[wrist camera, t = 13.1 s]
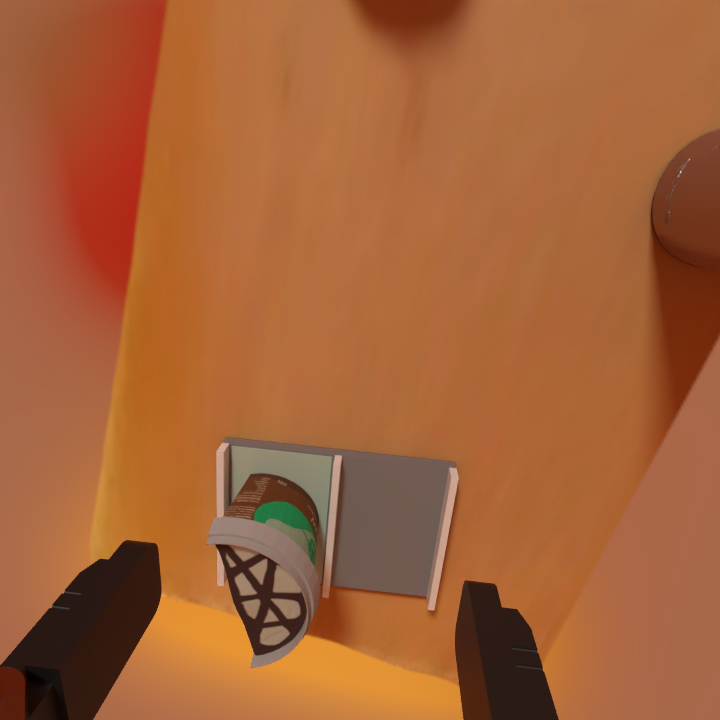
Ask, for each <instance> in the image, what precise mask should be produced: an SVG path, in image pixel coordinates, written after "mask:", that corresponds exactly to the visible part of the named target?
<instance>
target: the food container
mask: <svg viewBox="0 0 720 720" xmlns="http://www.w3.org/2000/svg"><path fill="white" fill-rule="evenodd" d="M318 525H319V515H318V511H317V508H316V505H315V503H314V501H313V500H312V498H311V497H310V496H309V494H308V493H307V492H306V491H305V490H304V489H303V488H302V487H300V486H299V485H297V484H296V483H294V482H293V481H291V480H289V479H287V478H284V477H281V476H278V475H273V474H265V473H257V474H250V476H249V477H248V479H247V480H246V482H245V483H244V485H243V487H242V488H241V490H240V491H239V493H238V494H237V496H236V497H235V499H234V500H233V502H232V503H231V505H230V506H229V508H228V509H227V511H226V512H225V514H224V516H223V517H217V518H214V520H213V523H212V526H211V528H210V531H209V539H208V541H207V543H206V545H210V544H216V547H217V549H218V551H219V553H220V556H221V559H222V562H223V565H224V568H225V571H226V575H227V578H228V582H229V587H230V591H231V594H232V598H233V602H234V604H235V607H236V609H237V611H238V613H239V615H240V617H241V619H242V621H243V623H244V625H245V628H246V631H247V634H248V637H249V639H250V642H251V645H252V648H253V651H254V654H253V659H252V663H251V668H254V667H261V666H264V665H267V664H271V663H273V662H275V661H277V660H279V659H282V658H283V657H284V656H286V655H287V654H289V653H290V652H291V651H292V650H293V649H294V648H295V647H296V646H297V645H298V643H299V642H300V641H301V640H302V639H303V637H304V636H305V634H306V633H307V631H308V629H309V627H310V625H311V623H312V620H313V618H314V616H315V614H316V611H317V609H318V606H319V601H320V583H319V577H318V575H317V572H316V569H315V557H316V547H317V537H318Z"/></svg>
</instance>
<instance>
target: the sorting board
mask: <svg viewBox="0 0 720 720" xmlns="http://www.w3.org/2000/svg"><path fill="white" fill-rule="evenodd" d="M216 455H217V517H223V516H224V514H225V512H226V511H227V509H228V508H229V506H230V505H231V503H232V502H233V500H234V499H235V497H236V496H237V494H238V493H239V491H240V490H241V488H242V487H243V485H244V483H245V482H246V480H247V479H248V477H249V476H250V474H257V473H265V474H273V475H278V476H281V477H284V478H287V479H289V480H291V481H293V482H294V483H296V484H297V485H299V486H300V487H302V488H303V489H304V490H305V491H306V492H307V493H308V494H309V496H310V497H311V498H312V500H313V501H314V503H315V505H316V508H317V511H318V515H319V525H318V537H317V547H316V557H315V569H316V572H317V575H318V577H319V583H320V584H321V585H323V593H322V598H329V592H330V586H338V587H346V588H355V589H364V590H372V591H381V592H390V593H398V594H407V595H416V596H424V597H427V607H428V610H435V604H436V599H437V593H438V588H439V583H440V577H441V572H442V566H443V561H444V555H445V550H446V545H447V539H448V534H449V528H450V523H451V517H452V512H453V506H454V501H455V496H456V490H457V485H458V479H459V477H458V473H457V469H456V465H455V462H449V461H440V460H431V459H422V458H413V457H404V456H394V455H385V454H376V453H367V452H358V451H349V450H339V449H330V448H321V447H312V446H303V445H294V444H284V443H275V442H266V441H257V440H248V439H239V438H229V437H226V438H225V440H224V441H223V443H222V444H221V446H220V447H219V448H218V450H217V451H216ZM226 580H227V575H226V571H225V568H224V565H223V562H222V559H221V556H220V553H219V551H218V549H217V585H219V586H224V585H225V582H226Z"/></svg>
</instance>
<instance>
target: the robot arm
mask: <svg viewBox="0 0 720 720" xmlns="http://www.w3.org/2000/svg"><path fill="white" fill-rule="evenodd" d="M652 218H653V225H654V228H655V232H656V235H657V237H658V239H659V240H660V242H661V244H662V246H663V247H664V248H665V249H666V250H667V251H668V252H669V253H670V254H671V255H673V256H674V257H676V258H678V259H679V260H681V261H683V262H687V263H690V264H693V265H697V266H702V267H706V268H711V269H715V270H720V129H719V130H716V131H713V132H710V133H707V134H705V135H703V136H702V137H700V138H698V139H696V140H694V141H693V142H691V143H690V144H689V145H688V146H686V147H685V148H684V149H683V150H682V151H680V152H679V153H678V154H677V156H676V157H675V158H674V159H673V160H672V161H671V162H670V164H669V165H668V166H667V168H666V170H665V171H664V173H663V175H662V176H661V178H660V180H659V183H658V186H657V188H656V191H655V194H654V200H653V205H652ZM160 598H161V577H160V565H159V553H158V547H157V545H156V544H155V543H148V542H139V541H131V540H126V541H124V542H123V543H122V544H121V545H120V546H119V548H118V549H117V550H116V551H115V553H114V554H113V555H112V556H111V557H110V559H109V560H107V559H99V560H98V561H96V562H95V563H93V564H92V565H90V566H89V567H87V568H86V569H85V570H83V571H82V572H80V573H79V574H78V576H77V577H76V578H75V579H74V580H73V581H72V582H71V584H70V585H69V586H68V587H67V588H66V590H65V592H64V594H61V595H60V596H59V598H58V599H57V600H56V601H55V602H54V603H53V606H52V608H49V609H48V611H47V612H46V613H45V614H44V615H43V616H42V618H41V619H40V620H39V621H38V622H37V623H36V625H35V626H34V627H33V628H32V629H31V630H30V632H29V633H28V634H27V635H26V636H25V637H24V639H23V640H22V641H21V642H20V643H19V644H18V646H17V647H16V648H15V649H14V650H13V651H12V653H11V654H10V655H9V656H8V657H7V658H6V660H5V661H4V662H3V663H2V664H1V665H0V720H93V719H94V717H95V715H96V713H97V712H98V710H99V708H100V707H101V705H102V703H103V702H104V700H105V698H106V697H107V695H108V693H109V691H110V690H111V688H112V687H113V685H114V683H115V681H116V680H117V678H118V676H119V675H120V673H121V671H122V669H123V668H124V666H125V664H126V662H127V661H128V659H129V658H130V656H131V654H132V652H133V651H134V649H135V647H136V646H137V644H138V642H139V641H140V639H141V637H142V636H143V634H144V632H145V630H146V629H147V627H148V625H149V624H150V622H151V620H152V619H153V617H154V615H155V613H156V611H157V608H158V605H159V602H160ZM455 652H456V661H457V669H458V678H459V686H460V693H461V702H462V711H463V719H464V720H559V719H558V716H557V713H556V709H555V706H554V703H553V700H552V696H551V693H550V690H549V686H548V683H547V680H546V676H545V673H544V672H543V667H542V663H541V660H540V657H539V654H538V653H537V647H536V643H535V640H534V637H533V633H532V630H531V628H530V626H529V625H528V624H527V622H526V621H525V620H524V618H523V617H522V616H521V614H520V613H519V611H518V610H517V609H510V608H502V606H501V602H500V598H499V594H498V590H497V587H496V585H495V584H492V583H483V582H475V581H465V582H464V584H463V589H462V595H461V601H460V606H459V612H458V617H457V623H456V631H455Z"/></svg>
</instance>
